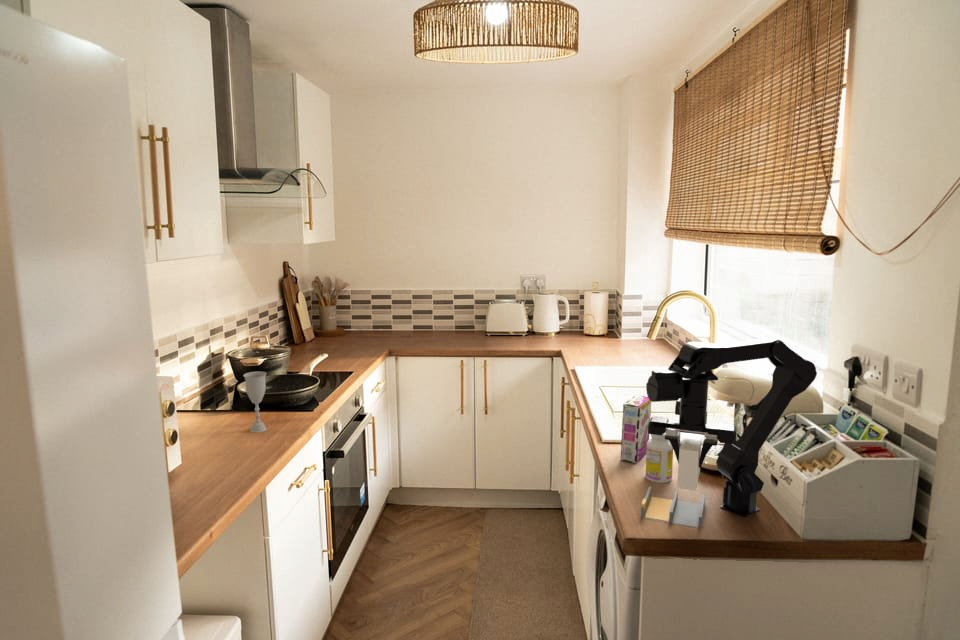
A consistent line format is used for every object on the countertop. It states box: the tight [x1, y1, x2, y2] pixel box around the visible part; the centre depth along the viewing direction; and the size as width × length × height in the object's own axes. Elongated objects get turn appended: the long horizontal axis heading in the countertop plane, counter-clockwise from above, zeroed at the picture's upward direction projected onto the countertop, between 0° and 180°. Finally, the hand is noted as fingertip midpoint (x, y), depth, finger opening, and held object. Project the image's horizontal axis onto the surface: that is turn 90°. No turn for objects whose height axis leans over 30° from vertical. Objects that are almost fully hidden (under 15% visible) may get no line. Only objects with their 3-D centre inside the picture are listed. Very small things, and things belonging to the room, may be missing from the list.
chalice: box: [242, 370, 268, 434], centre depth 213 cm, size 7×7×18 cm
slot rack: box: [640, 486, 706, 529], centre depth 157 cm, size 13×13×4 cm
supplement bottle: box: [645, 432, 674, 484], centre depth 176 cm, size 7×7×13 cm
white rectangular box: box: [676, 432, 703, 492], centre depth 154 cm, size 4×12×9 cm, turn 159°
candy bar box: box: [620, 394, 652, 464], centre depth 191 cm, size 11×5×16 cm, turn 149°
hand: (689, 465), depth 155 cm, fingers closed on white rectangular box, 4 cm apart
